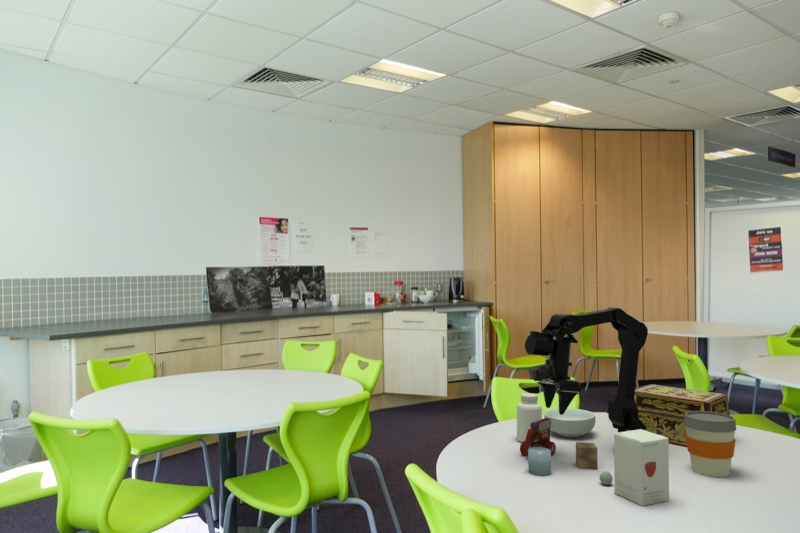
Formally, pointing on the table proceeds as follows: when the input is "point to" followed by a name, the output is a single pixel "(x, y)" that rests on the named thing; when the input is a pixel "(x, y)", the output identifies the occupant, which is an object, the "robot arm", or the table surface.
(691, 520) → the table surface
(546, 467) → the blue domed cylinder
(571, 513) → the table surface
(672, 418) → the decorative box
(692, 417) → the reusable coffee cup
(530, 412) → the pill bottle
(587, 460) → the walnut block
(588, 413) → the cereal bowl
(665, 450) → the supplement box
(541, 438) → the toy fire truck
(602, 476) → the grey ball
